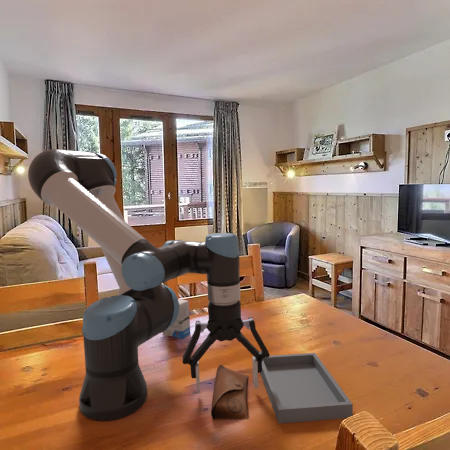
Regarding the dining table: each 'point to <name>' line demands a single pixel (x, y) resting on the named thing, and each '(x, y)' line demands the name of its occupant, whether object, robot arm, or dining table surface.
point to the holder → (303, 389)
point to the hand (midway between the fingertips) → (227, 387)
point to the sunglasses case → (229, 395)
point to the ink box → (180, 322)
